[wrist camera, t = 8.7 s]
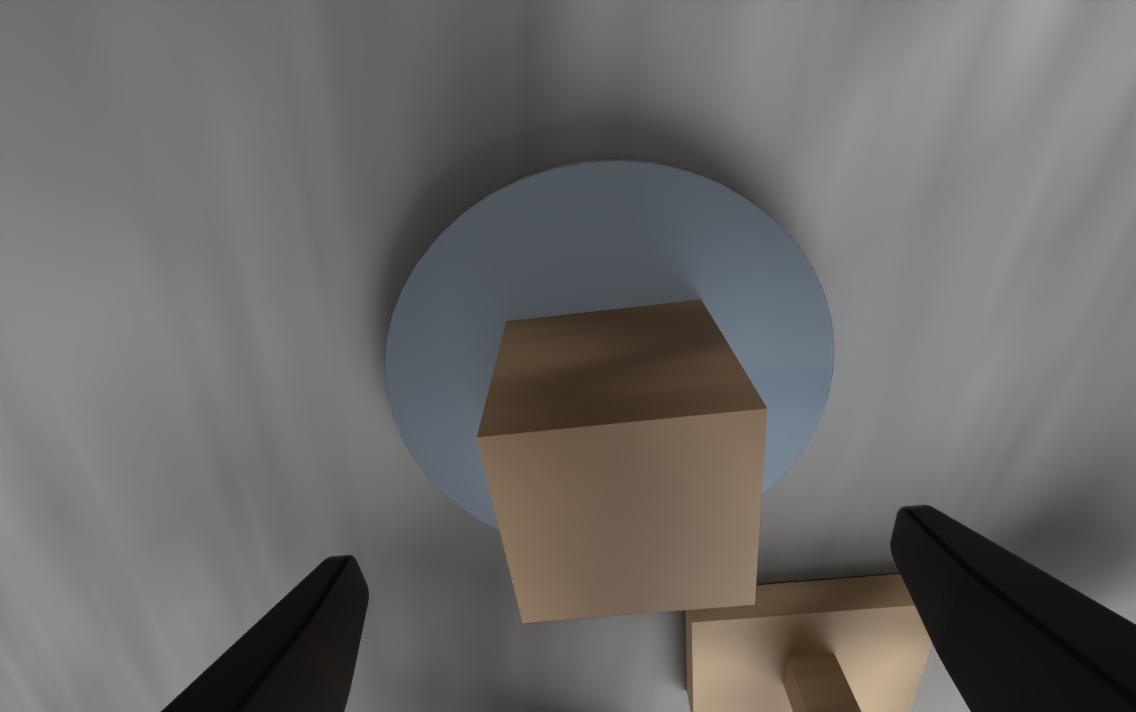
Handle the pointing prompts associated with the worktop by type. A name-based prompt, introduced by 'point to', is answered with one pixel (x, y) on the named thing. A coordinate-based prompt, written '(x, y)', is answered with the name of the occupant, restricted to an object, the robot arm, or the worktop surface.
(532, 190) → the dish
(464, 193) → the worktop surface
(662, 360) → the block
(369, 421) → the worktop surface
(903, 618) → the balance
